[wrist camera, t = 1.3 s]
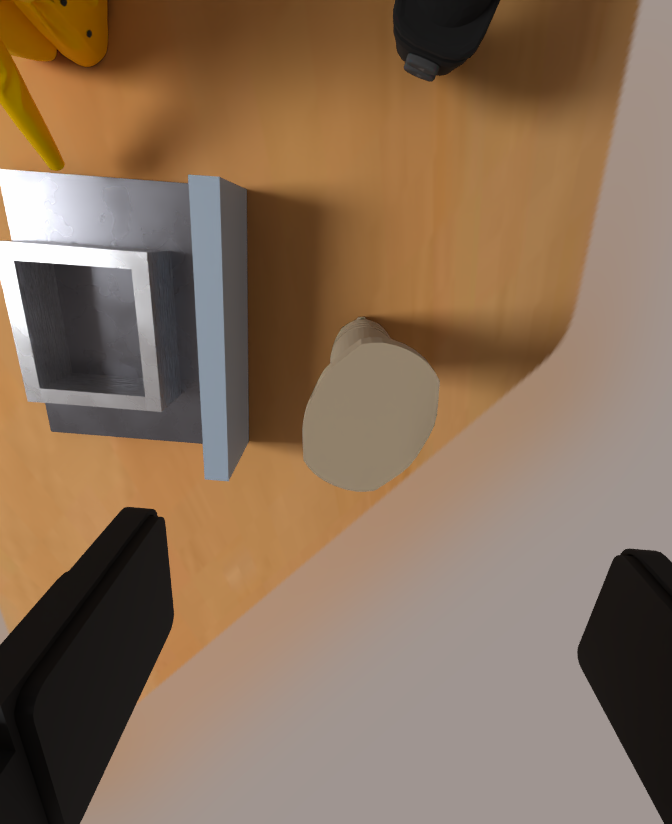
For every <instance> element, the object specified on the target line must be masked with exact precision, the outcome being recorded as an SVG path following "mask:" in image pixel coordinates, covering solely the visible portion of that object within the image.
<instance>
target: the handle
mask: <svg viewBox="0 0 672 824" xmlns="http://www.w3.org/2000/svg"><path fill="white" fill-rule="evenodd" d="M439 384H440V381H439V379H438V377H437V375H436V373H435V372H434V370H433V368H432V367H431V366H430V364H429V363H428V362H427V360H426V359H425V358H424V357H423V356H422V355H420V354H419V353H418V352H417V351H416V350H414V349H412V348H411V347H409V346H407V345H405V344H403V343H401V342H398V341H396V340H393V339H391V338H390V336H389V334H388V333H387V332H386V331H385V330H384V328H383V327H381V325H380V324H378V323H376V322H374V321H371V320H367V319H366V318H365V317H358V318H357V319H356V320H355V321H352V322H350V323H348V324H347V325H345V326H343V327H342V328H341V330H340V332H339V334H338V335H337V337H336V340H335V342H334V345H333V348H332V352H331V357H330V364H329V365H328V366H327V367H326V368H325V369H324V371H323V372H322V374H321V376H320V378H319V380H318V382H317V384H316V386H315V388H314V390H313V392H312V395H311V397H310V399H309V401H308V404H307V407H306V410H305V414H304V419H303V428H302V438H303V458H304V462H305V463H306V464H307V466H308V467H309V468H310V469H311V470H312V472H313V473H314V474H315V475H317V476H318V477H320V478H321V479H323V480H324V481H326V482H328V483H330V484H332V485H334V486H337V487H340V488H343V489H346V490H351V491H358V492H366V491H375V490H376V489H378V488H379V487H381V486H383V485H384V484H386V483H387V482H389V481H390V480H392V479H393V478H395V477H396V476H398V475H399V474H400V473H402V472H403V471H404V470H405V469H406V468H408V467H409V466H410V465H411V463H412V462H413V461H414V459H415V458H416V457H417V455H418V454H419V452H420V450H421V449H422V447H423V445H424V444H425V442H426V441H427V439H428V437H429V436H430V433H431V431H432V429H433V427H434V424H435V420H436V416H437V408H438V397H439Z"/></svg>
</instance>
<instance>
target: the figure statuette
mask: <svg viewBox="0 0 672 824" xmlns="http://www.w3.org/2000/svg"><path fill="white" fill-rule="evenodd" d="M107 14H108V3H107V0H0V104H1V105H2V106H3V108H4V109H5V111H6V112H7V114H8V115H9V116H10V118H11V119H12V121H13V122H14V123H15V125H16V126H17V127H18V128H19V130H20V131H21V132H22V133H23V135H24V136H25V137H26V139H27V140H28V141H29V142H30V144H31V145H32V146H33V147H34V149H35V150H36V151H37V152H38V154H39V155H40V156H41V158H42V159H43V160H44V161H45V163H46V164H47V166H48V167H49V168H50V169H51V170H55V171H58V170H61V169H62V168H63V167H64V165H65V163H64V161H63V159H62V157H61V154H60V152H59V150H58V148H57V146H56V144H55V142H54V140H53V138H52V136H51V134H50V132H49V130H48V128H47V126H46V124H45V122H44V120H43V118H42V116H41V114H40V112H39V110H38V108H37V106H36V104H35V102H34V100H33V99H32V97H31V95H30V93H29V91H28V89H27V87H26V85H25V82H24V80H23V78H22V76H21V75H20V72H19V70H18V68H17V66H16V64H15V63H14V61H13V59H12V57H11V55H13V56H17V57H22V58H26V59H31V60H36V61H52V60H53V59H55V57H56V55H57V49H58V50H59V51H60V53H61V54H63V55H64V56H65V57H67V58H69V59H70V60H72V61H73V62H75V63H77V64H79V65H81V66H84V67H90V66H93V65H95V64H97V63H98V62H99V61H100V60H101V59H102V58H103V57H104V56H105V54H106V52H107V45H108V22H107Z"/></svg>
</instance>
